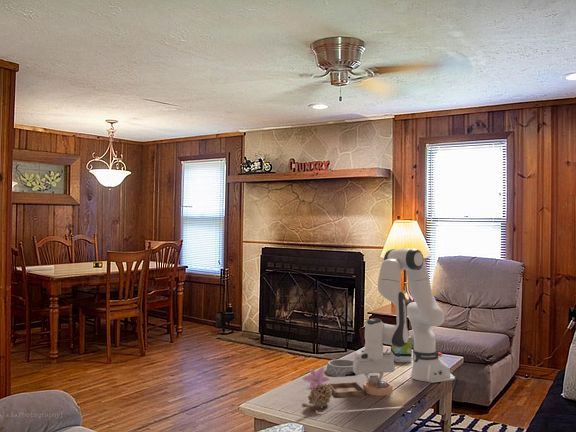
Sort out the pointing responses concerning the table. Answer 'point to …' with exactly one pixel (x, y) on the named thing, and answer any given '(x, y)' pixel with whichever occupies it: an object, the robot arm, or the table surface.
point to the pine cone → (319, 396)
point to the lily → (316, 377)
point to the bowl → (378, 389)
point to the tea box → (403, 352)
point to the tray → (347, 389)
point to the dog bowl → (340, 367)
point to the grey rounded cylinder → (382, 384)
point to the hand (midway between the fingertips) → (373, 381)
